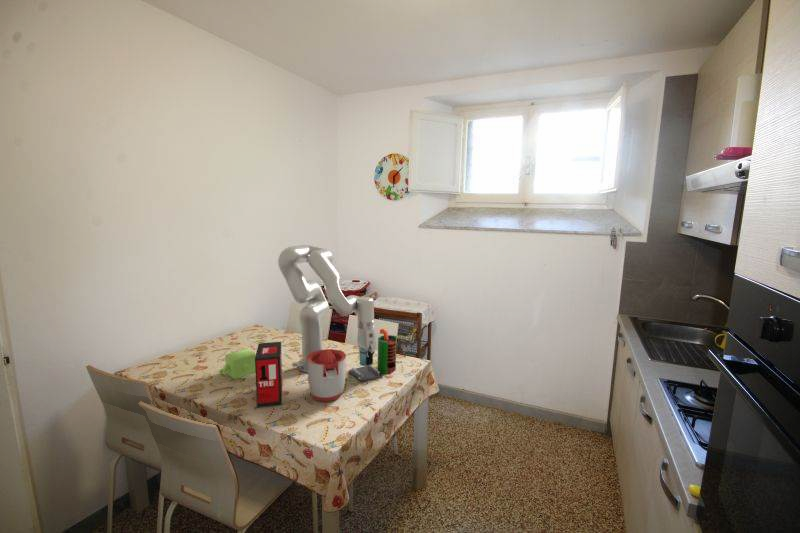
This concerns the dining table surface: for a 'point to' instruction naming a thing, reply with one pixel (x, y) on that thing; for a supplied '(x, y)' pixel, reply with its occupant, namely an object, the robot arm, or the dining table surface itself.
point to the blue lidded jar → (363, 356)
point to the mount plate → (365, 373)
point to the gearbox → (239, 363)
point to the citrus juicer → (326, 374)
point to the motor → (386, 352)
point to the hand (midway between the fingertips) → (366, 361)
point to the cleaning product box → (268, 374)
